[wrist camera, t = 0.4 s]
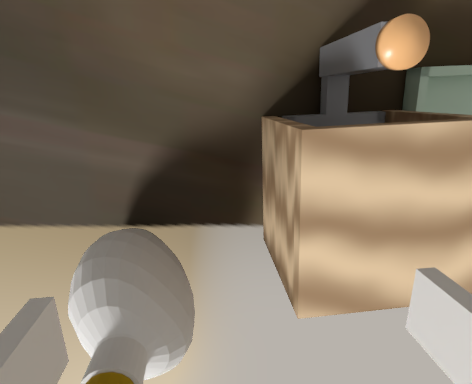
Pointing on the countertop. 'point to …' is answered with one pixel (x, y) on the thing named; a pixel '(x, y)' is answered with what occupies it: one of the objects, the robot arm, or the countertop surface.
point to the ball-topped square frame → (365, 66)
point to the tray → (439, 89)
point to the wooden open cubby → (367, 208)
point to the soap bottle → (131, 308)
